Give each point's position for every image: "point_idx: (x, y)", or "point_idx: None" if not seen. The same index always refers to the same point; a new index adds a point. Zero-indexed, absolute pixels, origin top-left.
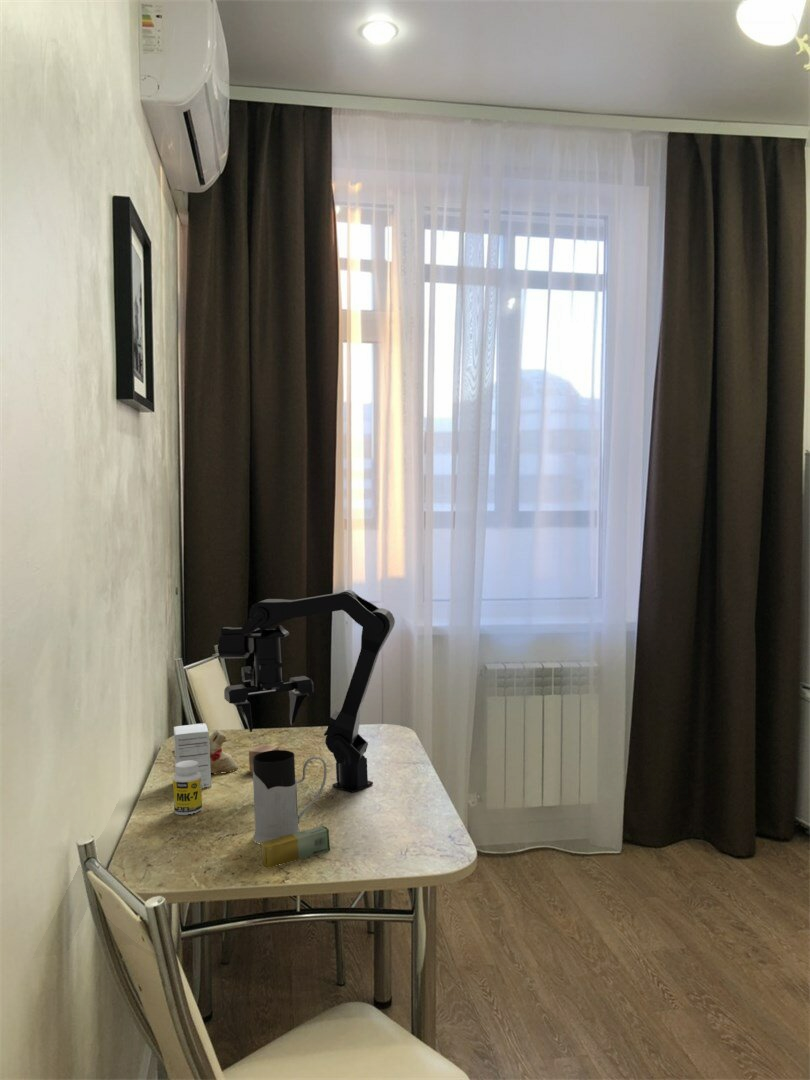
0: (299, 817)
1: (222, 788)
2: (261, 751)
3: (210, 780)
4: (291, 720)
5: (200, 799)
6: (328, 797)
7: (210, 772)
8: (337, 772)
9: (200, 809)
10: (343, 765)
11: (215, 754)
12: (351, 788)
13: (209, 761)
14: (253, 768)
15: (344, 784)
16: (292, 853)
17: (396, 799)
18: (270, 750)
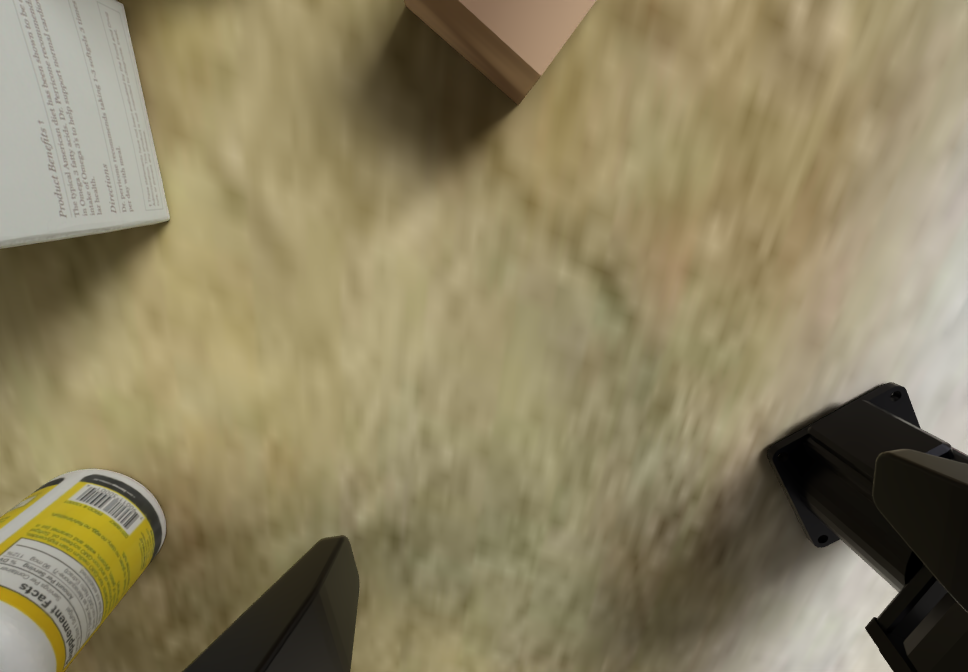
0: None
1: (241, 270)
2: (496, 12)
3: (145, 225)
4: (933, 559)
5: (134, 580)
6: (706, 550)
7: (113, 228)
8: (842, 473)
9: (160, 546)
10: (889, 581)
11: None
12: (824, 526)
13: (46, 239)
14: (429, 20)
15: (814, 514)
16: None
17: None
18: (575, 13)
